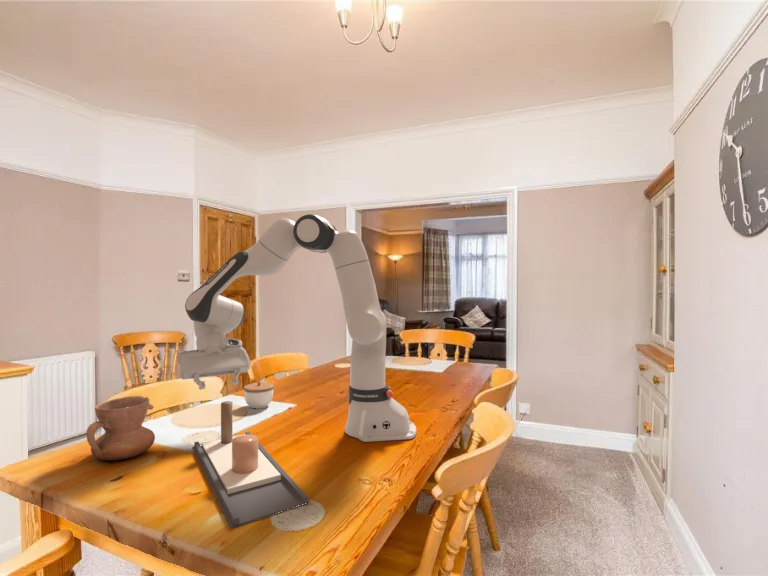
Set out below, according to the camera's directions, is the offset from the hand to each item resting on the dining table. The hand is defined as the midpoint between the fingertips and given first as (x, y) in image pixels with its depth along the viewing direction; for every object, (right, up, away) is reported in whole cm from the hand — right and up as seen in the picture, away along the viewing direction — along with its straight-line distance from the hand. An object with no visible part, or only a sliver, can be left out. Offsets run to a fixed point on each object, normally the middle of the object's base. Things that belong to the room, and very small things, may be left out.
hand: (219, 386), depth 121 cm
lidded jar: (+2, -15, +30) cm, 34 cm away
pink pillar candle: (+16, -14, -23) cm, 32 cm away
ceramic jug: (-21, -16, -12) cm, 29 cm away
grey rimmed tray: (+15, -16, -22) cm, 30 cm away
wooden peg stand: (+12, -16, -17) cm, 26 cm away
